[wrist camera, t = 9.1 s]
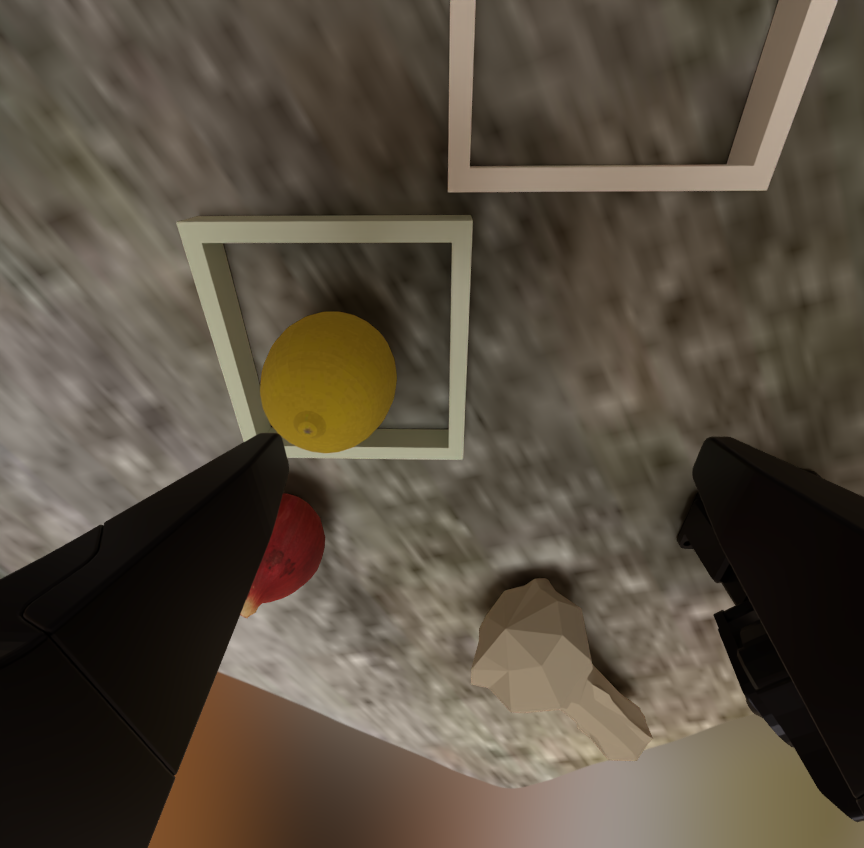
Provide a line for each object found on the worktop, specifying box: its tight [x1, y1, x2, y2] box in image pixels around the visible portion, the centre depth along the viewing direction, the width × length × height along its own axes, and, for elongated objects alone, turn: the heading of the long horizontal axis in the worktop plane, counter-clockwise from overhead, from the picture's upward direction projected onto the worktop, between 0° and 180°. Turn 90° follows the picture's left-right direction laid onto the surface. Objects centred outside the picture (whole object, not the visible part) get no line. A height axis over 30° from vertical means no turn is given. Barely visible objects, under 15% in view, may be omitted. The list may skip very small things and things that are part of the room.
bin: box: [176, 215, 473, 460], centre depth 21 cm, size 12×12×2 cm
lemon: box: [260, 312, 397, 453], centre depth 18 cm, size 6×6×8 cm
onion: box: [240, 493, 325, 618], centre depth 25 cm, size 6×6×8 cm
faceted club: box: [471, 578, 653, 761], centre depth 34 cm, size 9×9×25 cm
